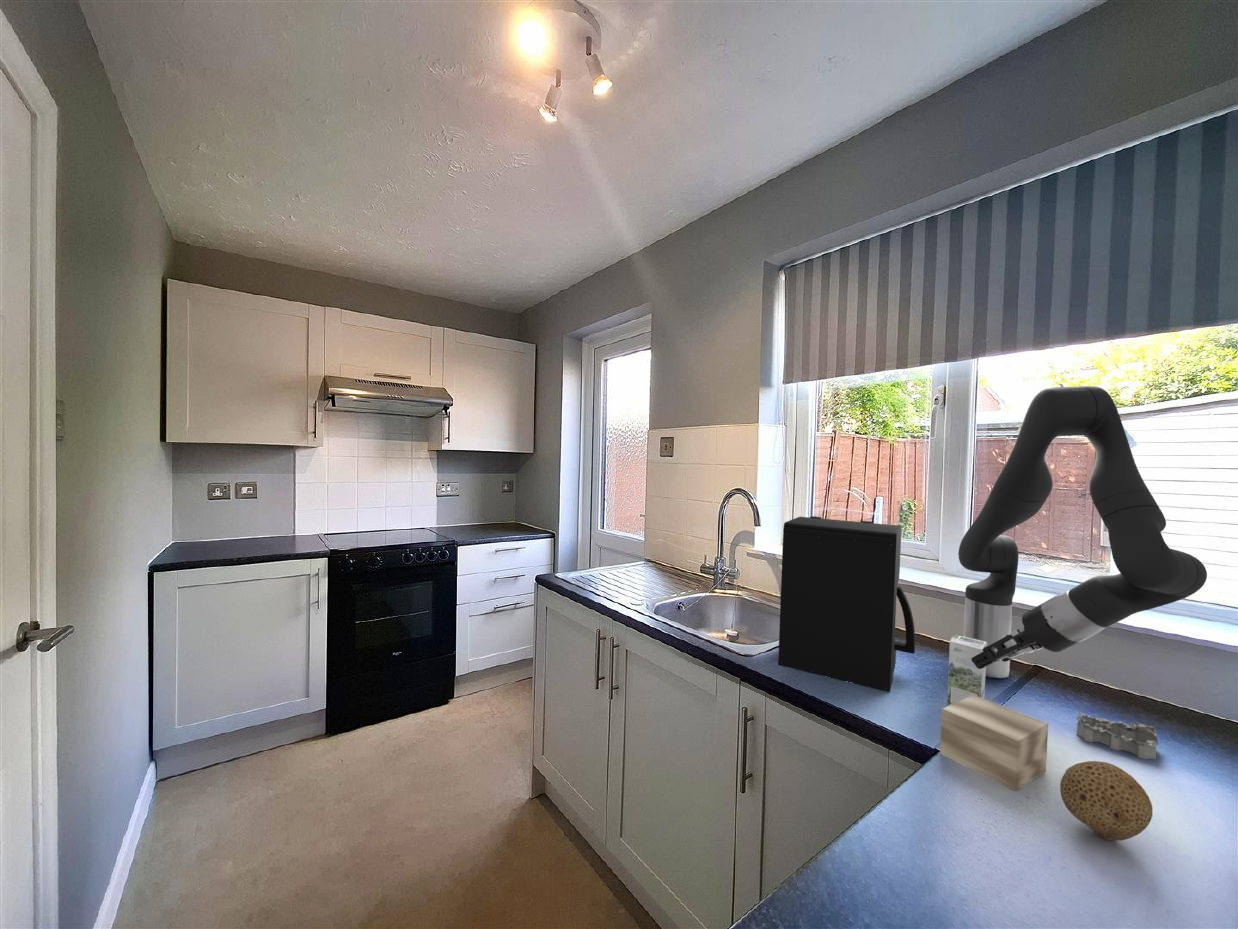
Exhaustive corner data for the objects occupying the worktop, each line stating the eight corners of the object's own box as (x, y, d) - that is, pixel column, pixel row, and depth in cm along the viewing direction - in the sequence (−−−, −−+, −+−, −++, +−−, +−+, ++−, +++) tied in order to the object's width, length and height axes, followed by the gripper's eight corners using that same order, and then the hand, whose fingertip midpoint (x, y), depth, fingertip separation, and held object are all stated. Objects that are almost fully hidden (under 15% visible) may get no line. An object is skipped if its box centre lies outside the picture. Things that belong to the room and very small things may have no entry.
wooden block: (971, 737, 92) (973, 694, 92) (1045, 771, 82) (1048, 723, 82) (939, 754, 86) (941, 708, 86) (1015, 792, 77) (1017, 741, 77)
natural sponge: (1128, 873, 62) (1132, 794, 62) (1043, 823, 70) (1047, 753, 70) (1163, 852, 66) (1167, 777, 65) (1078, 807, 74) (1082, 740, 74)
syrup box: (984, 711, 102) (988, 640, 101) (980, 722, 97) (983, 648, 97) (951, 701, 105) (954, 633, 105) (945, 711, 101) (949, 640, 101)
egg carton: (1158, 750, 90) (1160, 728, 90) (1156, 766, 85) (1157, 742, 85) (1078, 724, 98) (1080, 703, 98) (1072, 737, 93) (1073, 716, 93)
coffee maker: (914, 667, 122) (921, 525, 122) (911, 698, 106) (918, 534, 105) (796, 641, 138) (801, 514, 137) (777, 665, 121) (783, 521, 120)
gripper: (1065, 597, 93) (994, 637, 103) (1024, 605, 86) (952, 647, 97) (1101, 635, 88) (1022, 673, 99) (1060, 647, 82) (981, 686, 92)
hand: (988, 660), depth 98 cm, fingers open, 8 cm apart
